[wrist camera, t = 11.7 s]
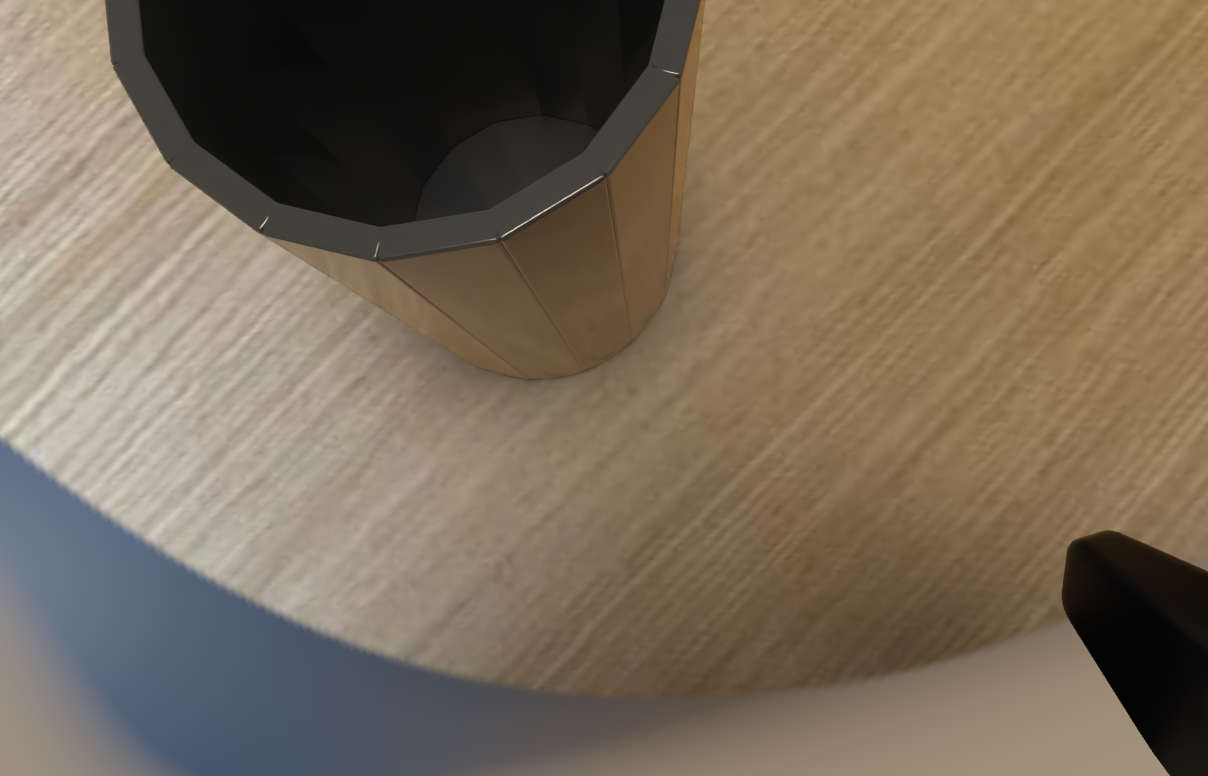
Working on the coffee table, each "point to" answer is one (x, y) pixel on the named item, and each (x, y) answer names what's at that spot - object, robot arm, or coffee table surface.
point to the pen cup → (440, 153)
